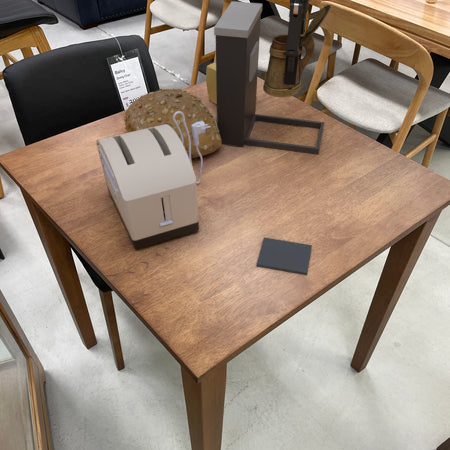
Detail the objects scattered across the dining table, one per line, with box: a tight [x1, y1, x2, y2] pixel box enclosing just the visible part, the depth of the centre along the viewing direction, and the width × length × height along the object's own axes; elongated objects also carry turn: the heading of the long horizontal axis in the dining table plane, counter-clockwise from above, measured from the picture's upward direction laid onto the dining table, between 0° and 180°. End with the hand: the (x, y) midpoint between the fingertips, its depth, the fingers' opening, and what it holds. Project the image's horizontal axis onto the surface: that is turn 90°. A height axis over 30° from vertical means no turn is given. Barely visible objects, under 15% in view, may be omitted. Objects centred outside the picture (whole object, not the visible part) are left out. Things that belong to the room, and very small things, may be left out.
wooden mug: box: [262, 4, 332, 98], centre depth 100 cm, size 9×14×18 cm, turn 86°
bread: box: [123, 88, 223, 159], centre depth 110 cm, size 24×21×12 cm
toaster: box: [95, 111, 211, 250], centre depth 92 cm, size 23×25×17 cm
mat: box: [255, 236, 313, 276], centre depth 88 cm, size 10×8×1 cm
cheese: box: [205, 61, 217, 105], centre depth 125 cm, size 10×11×10 cm
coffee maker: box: [213, 0, 325, 155], centre depth 107 cm, size 26×17×28 cm, turn 76°
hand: (291, 76), depth 105 cm, fingers closed on wooden mug, 7 cm apart
